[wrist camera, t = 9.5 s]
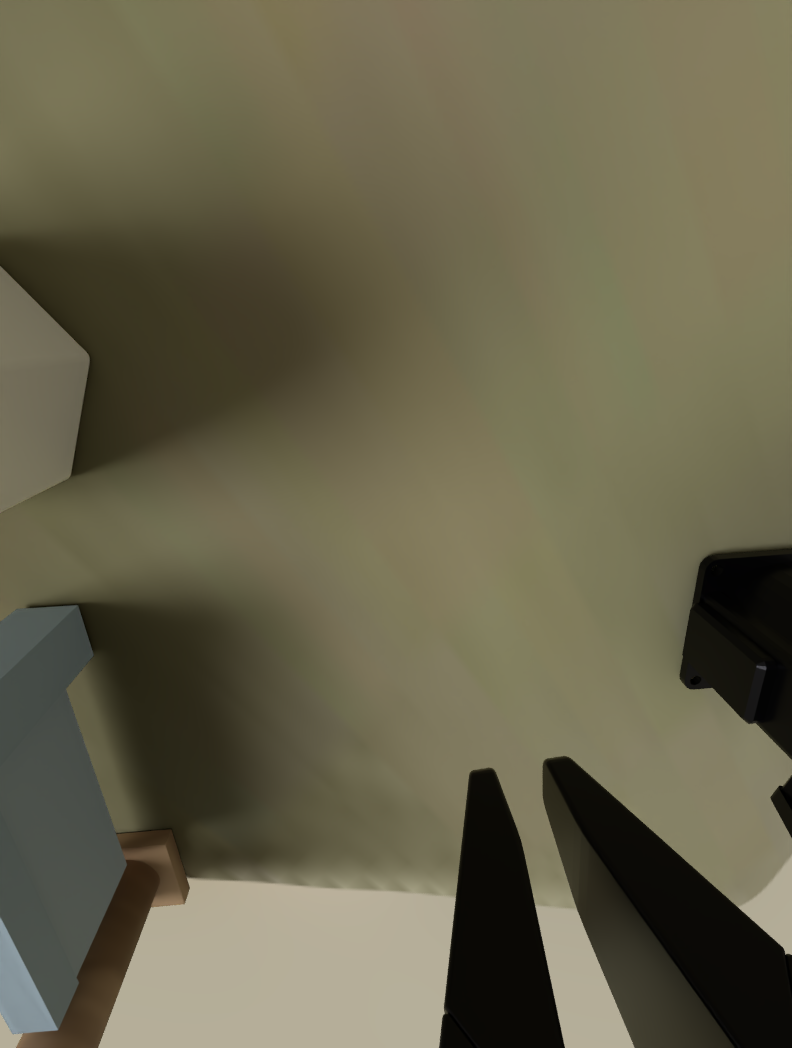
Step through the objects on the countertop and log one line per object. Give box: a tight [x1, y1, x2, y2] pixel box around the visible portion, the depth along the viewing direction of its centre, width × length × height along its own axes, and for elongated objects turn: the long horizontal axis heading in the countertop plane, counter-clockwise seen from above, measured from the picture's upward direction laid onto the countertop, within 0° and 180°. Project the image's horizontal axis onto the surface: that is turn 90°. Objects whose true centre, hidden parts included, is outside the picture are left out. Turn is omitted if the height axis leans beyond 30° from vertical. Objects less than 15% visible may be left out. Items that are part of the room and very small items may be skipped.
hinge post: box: [16, 829, 190, 1048], centre depth 21 cm, size 4×4×10 cm
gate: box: [0, 605, 127, 1034], centre depth 19 cm, size 13×2×8 cm, turn 3°
